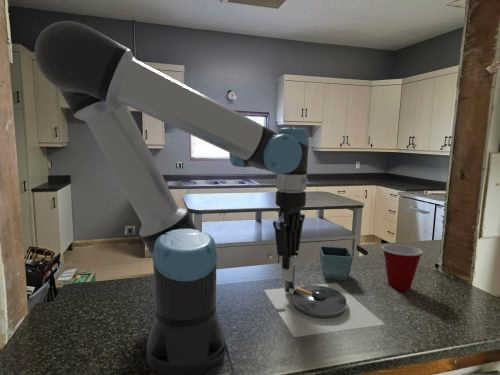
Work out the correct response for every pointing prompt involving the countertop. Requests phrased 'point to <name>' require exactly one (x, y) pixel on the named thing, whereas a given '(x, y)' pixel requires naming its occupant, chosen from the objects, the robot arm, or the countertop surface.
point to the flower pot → (335, 262)
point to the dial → (316, 300)
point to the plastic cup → (401, 265)
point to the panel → (309, 325)
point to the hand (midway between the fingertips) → (287, 279)
